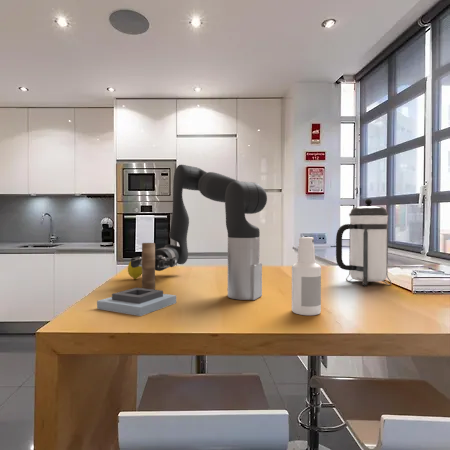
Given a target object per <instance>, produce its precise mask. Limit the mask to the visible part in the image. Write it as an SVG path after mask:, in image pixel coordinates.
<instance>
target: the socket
mask: <svg viewBox="0 0 450 450" xmlns="http://www.w3.org/2000/svg"><path fill="white" fill-rule="evenodd" d="M176 303H177V295H175V294H170V293H169V294H168V293H164V291H163V290H160V289H159V290H158V289H155V290H153V289H144V288H142V287H133V288H130V289H125V290H122V291H119V292H115V293H111V296H110V297H106V298H104V299H99V300H97V301H96V309H97V310H102V311H108V312H113V313H120V314H127V315H132V316H138V317H142V316H145V315H148V314H150V313H153V312H156V311H158V310H161V309H163V308H166V307H169V306H171V305H172V306H173V305H174V304H176Z"/></svg>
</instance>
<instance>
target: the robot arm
mask: <svg viewBox="0 0 450 450" xmlns="http://www.w3.org/2000/svg"><path fill="white" fill-rule="evenodd" d="M172 186H173V187H172V215H171V221H170V222H171V223H170V230H169V239H171V240H173V241H175V242H177V243H178V245H174V244H165V245H164V247H161V248H158V249H156V248H155V272H156V271H157V272H161V271H164V270H166V269H168V268H173V267H175V266H177V265H184V264H186V263H187V261H188V259H189V249H188V240H187V239H188V232H189V226H190V217H189V214H188V212H187V209H186V206H185V203H184V199H183V190H190V191H199V193H200V194H201V195H202V196H203V197H205V198H207V199H209V200H211V201H215V202H219V203H224V209H225V212H224V213H225V226H226V227H225V228H226V230H227V297H228V298H230V299H233V300H241V301H242V300H247V301H248V300H249V301H250V300H251V301H255V300H257V299H259V298H260V297H262V296H263V264H262V262H260V245H261V244H260V237H261V236H260V228H259V227H258V226H256V225H254V224H253V223H250V222H249V221H248V220H247V218H246V214H247V215H251V214H256V213H260V212H261V211H263V209H264V208H265V207H266V205H267V203H268V196H267V192H266V190H265V188H264V187H263V186H262V185H261V184H259V182H252V181H240V180H237V179H234V178H232V177H230V176H226V175H224V174H220V173H217V172H214V171H208V172H207V171H205V170H203V169H201V168H200V167H195V166H191V165H186V164H179V165H177V166H176V168H175V170H174V174H173V184H172ZM130 261H131V266H132V268H135V267H138V266H141V267H142V256H136V257H132V258H130Z"/></svg>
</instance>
